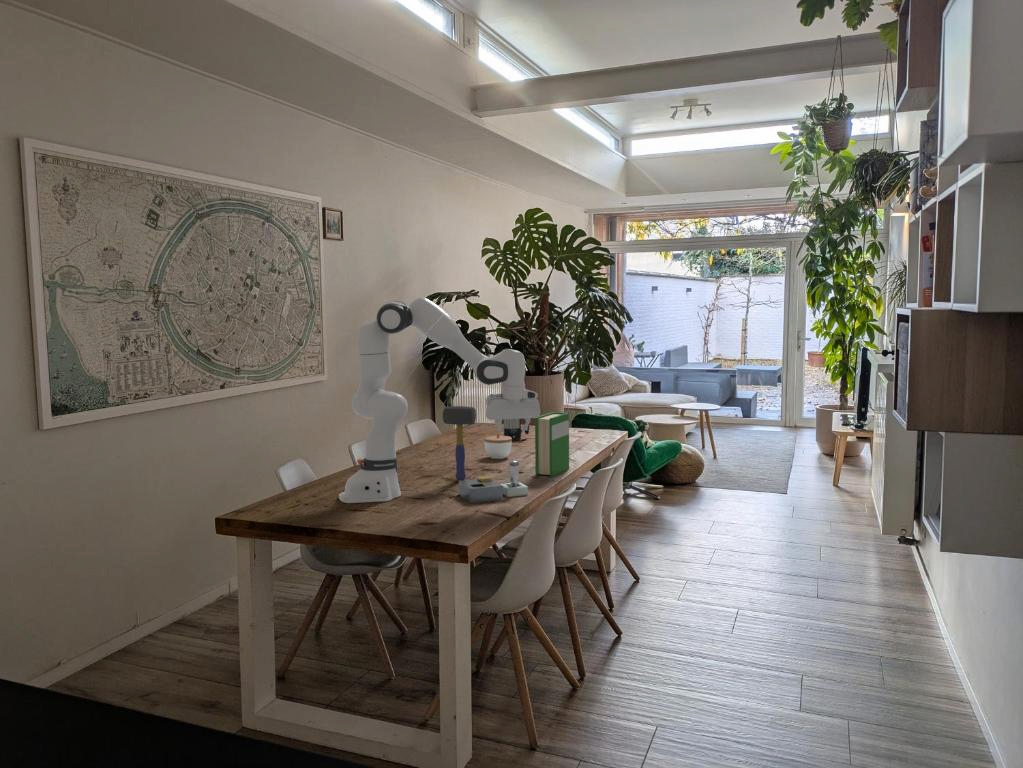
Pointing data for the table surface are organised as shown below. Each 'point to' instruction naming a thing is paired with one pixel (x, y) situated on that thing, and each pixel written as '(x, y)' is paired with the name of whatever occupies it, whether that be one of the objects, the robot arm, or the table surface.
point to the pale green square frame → (514, 490)
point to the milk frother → (513, 428)
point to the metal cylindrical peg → (514, 473)
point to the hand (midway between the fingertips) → (512, 431)
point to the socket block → (480, 490)
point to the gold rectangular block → (484, 478)
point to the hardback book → (552, 443)
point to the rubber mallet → (459, 432)
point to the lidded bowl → (498, 446)
